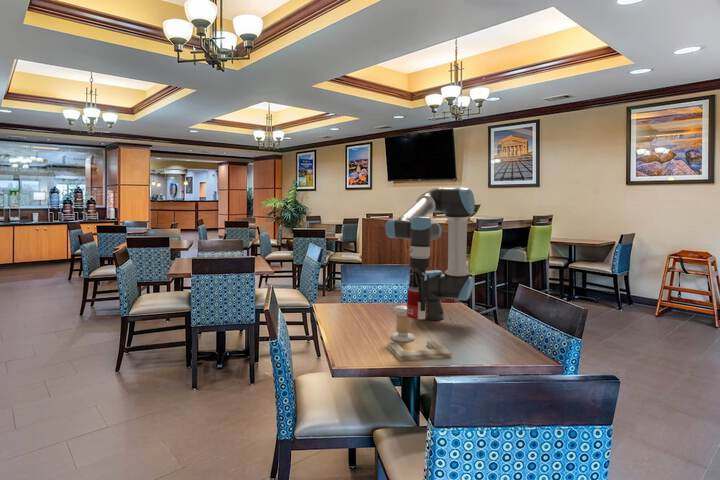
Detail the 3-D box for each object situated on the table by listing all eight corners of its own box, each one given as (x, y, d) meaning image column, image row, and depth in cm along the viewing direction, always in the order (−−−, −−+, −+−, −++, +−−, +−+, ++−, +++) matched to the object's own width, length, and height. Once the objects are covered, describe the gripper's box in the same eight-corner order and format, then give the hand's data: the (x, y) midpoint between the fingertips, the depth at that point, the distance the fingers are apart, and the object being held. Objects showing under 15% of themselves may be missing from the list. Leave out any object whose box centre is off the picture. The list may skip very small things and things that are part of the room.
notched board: (434, 344, 181) (435, 340, 180) (451, 357, 166) (451, 352, 166) (387, 347, 176) (387, 342, 175) (400, 360, 161) (400, 355, 161)
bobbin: (409, 334, 194) (410, 304, 193) (418, 341, 185) (419, 310, 184) (387, 335, 192) (388, 305, 191) (395, 342, 182) (396, 311, 181)
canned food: (426, 319, 167) (428, 290, 166) (405, 318, 169) (406, 289, 168) (427, 315, 175) (429, 287, 174) (407, 313, 176) (408, 286, 176)
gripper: (401, 254, 179) (399, 310, 181) (420, 260, 159) (417, 323, 161) (418, 254, 181) (416, 309, 183) (440, 260, 161) (437, 322, 163)
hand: (417, 316), depth 172 cm, fingers closed on canned food, 8 cm apart
